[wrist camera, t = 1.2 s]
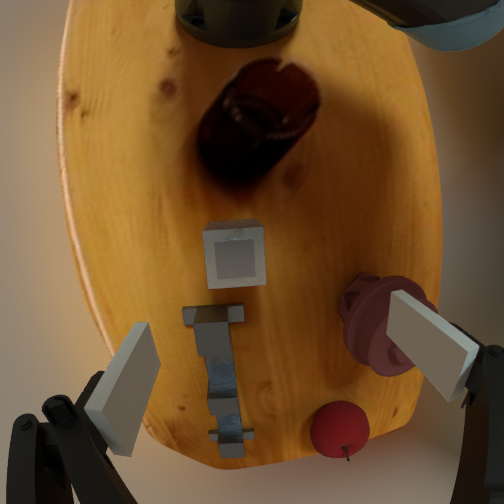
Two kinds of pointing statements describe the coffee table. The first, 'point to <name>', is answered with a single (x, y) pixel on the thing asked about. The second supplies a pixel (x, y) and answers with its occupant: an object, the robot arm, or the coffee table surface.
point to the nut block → (234, 253)
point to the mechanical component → (376, 321)
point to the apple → (339, 429)
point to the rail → (220, 372)
